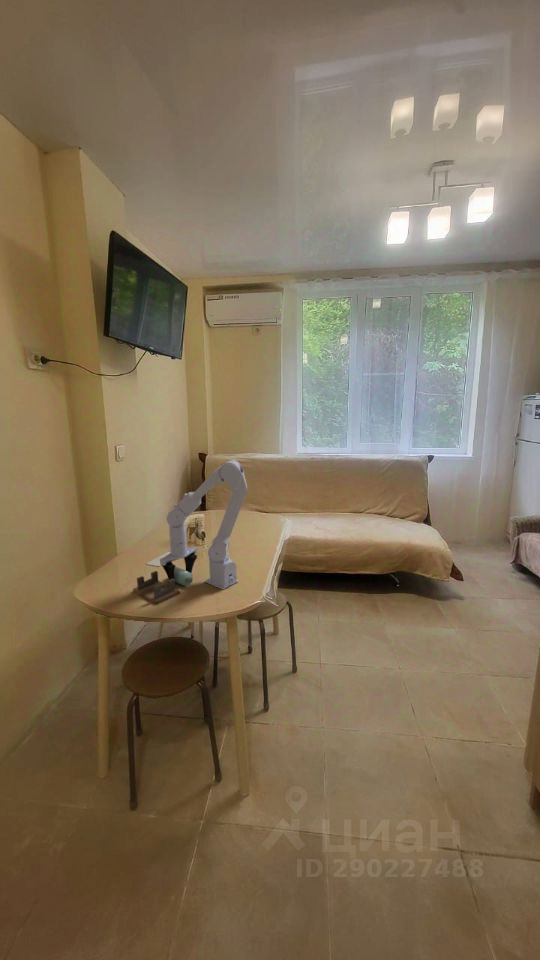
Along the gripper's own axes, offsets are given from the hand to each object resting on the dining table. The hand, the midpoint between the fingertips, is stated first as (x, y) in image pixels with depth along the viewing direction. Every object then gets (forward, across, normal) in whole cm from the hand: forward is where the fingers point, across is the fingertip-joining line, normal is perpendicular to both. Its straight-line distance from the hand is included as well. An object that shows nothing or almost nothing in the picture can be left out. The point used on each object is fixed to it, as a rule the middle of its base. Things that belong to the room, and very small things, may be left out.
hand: (180, 577), depth 130 cm
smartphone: (+2, -9, -23) cm, 25 cm away
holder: (+2, +10, 0) cm, 10 cm away
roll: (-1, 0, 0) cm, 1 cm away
